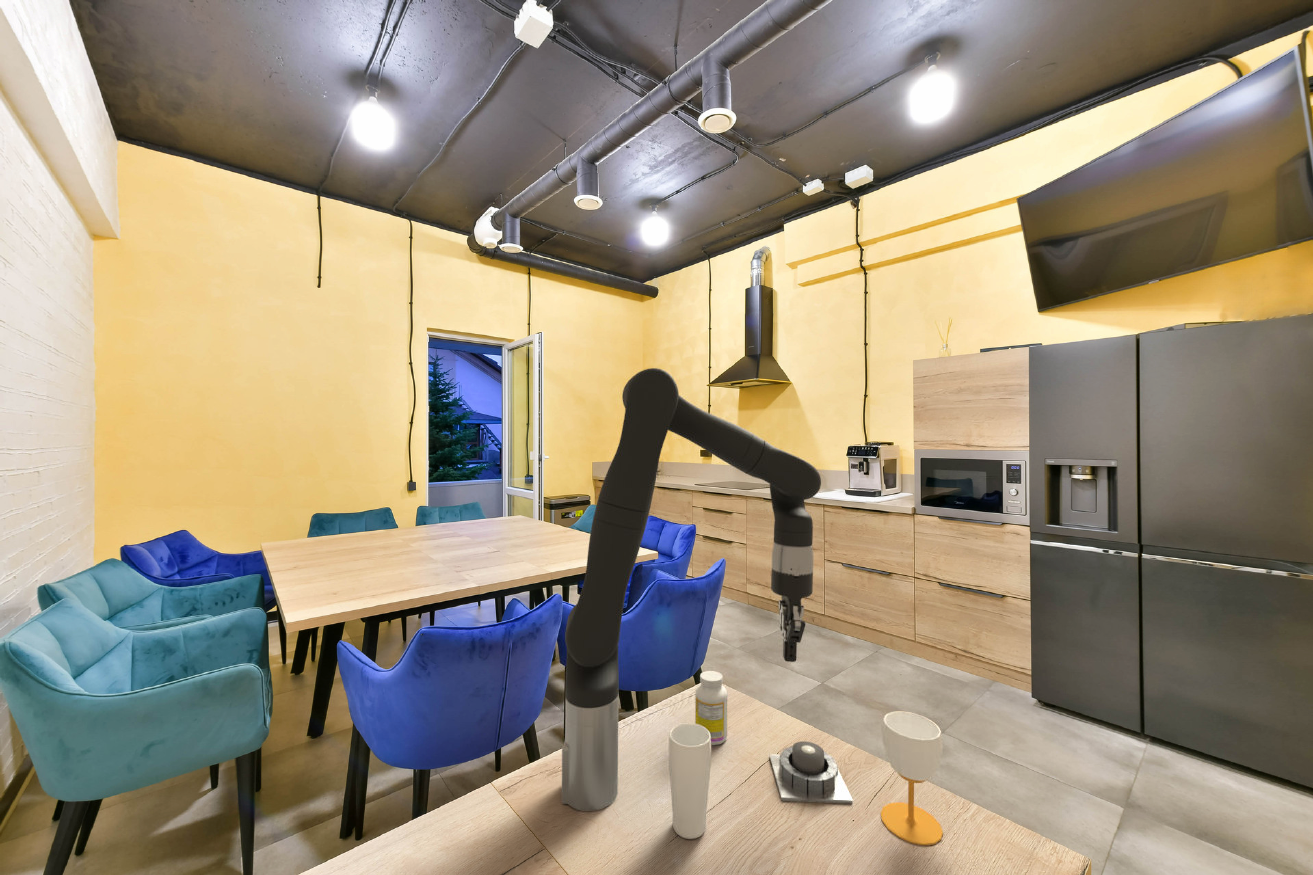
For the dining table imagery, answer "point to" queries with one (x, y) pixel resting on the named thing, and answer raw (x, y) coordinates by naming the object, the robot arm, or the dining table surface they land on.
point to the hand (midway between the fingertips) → (789, 659)
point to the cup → (912, 773)
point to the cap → (808, 758)
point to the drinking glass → (689, 778)
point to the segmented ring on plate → (808, 781)
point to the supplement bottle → (712, 706)
